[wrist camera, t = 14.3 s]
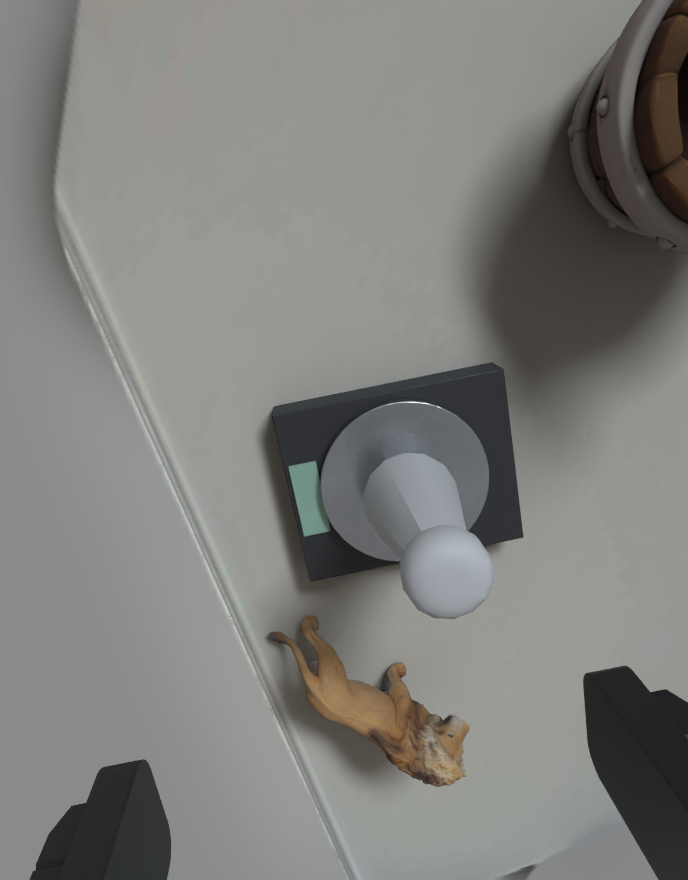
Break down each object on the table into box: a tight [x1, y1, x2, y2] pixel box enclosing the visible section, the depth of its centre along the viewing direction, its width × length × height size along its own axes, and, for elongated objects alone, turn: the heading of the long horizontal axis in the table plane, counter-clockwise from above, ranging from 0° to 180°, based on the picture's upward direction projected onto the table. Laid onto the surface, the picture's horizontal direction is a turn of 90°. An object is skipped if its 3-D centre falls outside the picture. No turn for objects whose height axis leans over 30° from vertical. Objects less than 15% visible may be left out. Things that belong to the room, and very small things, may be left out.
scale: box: [272, 363, 523, 581], centre depth 43 cm, size 15×12×3 cm
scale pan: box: [320, 399, 489, 561], centre depth 41 cm, size 11×11×1 cm
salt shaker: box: [363, 453, 494, 619], centre depth 35 cm, size 6×6×13 cm
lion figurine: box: [269, 616, 469, 787], centre depth 44 cm, size 15×5×9 cm, turn 64°
